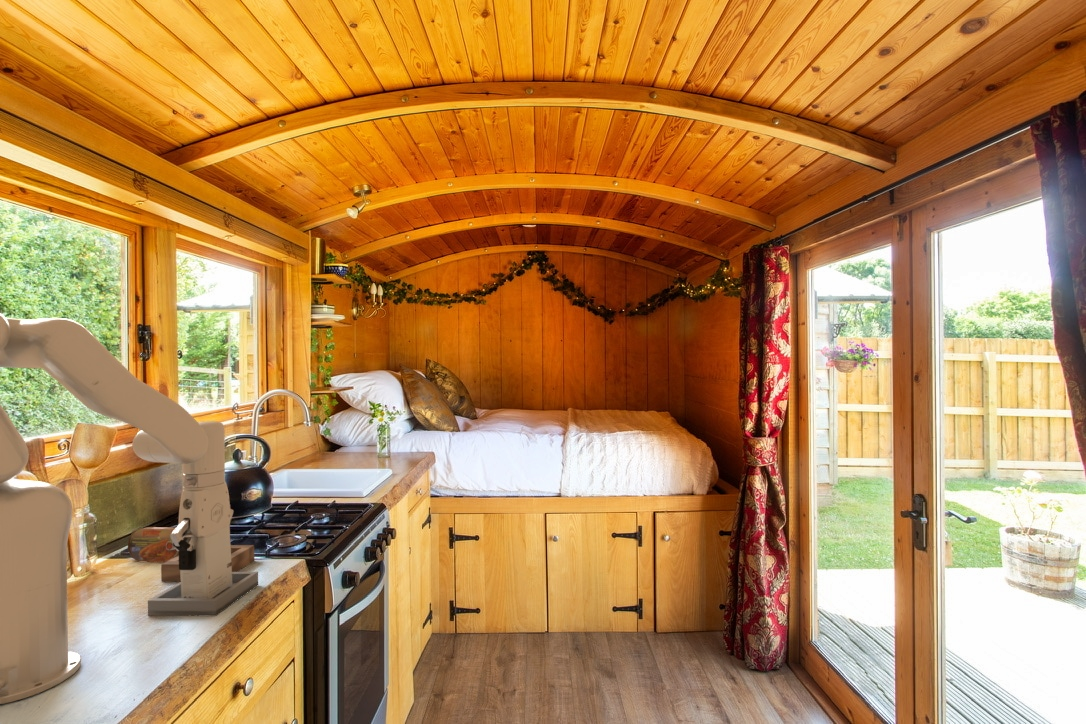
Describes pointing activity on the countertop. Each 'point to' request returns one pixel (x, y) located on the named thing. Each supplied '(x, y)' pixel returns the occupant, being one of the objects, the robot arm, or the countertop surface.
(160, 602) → the gray tray
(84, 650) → the countertop surface
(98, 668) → the countertop surface
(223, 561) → the skincare box
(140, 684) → the countertop surface
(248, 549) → the walnut holder
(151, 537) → the tin
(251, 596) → the countertop surface
